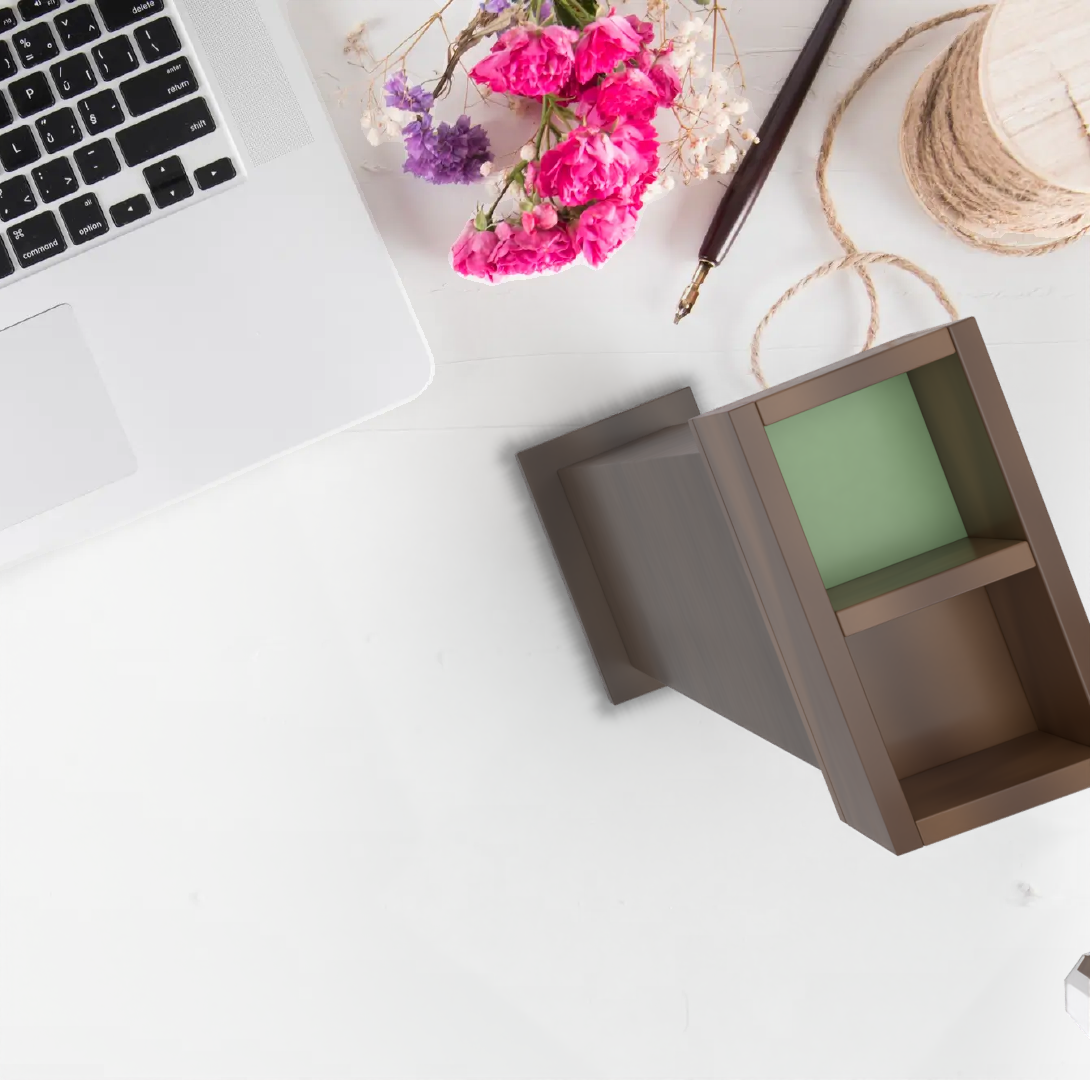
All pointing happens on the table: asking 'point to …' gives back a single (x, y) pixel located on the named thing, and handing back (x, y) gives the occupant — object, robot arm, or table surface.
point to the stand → (659, 568)
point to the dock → (910, 585)
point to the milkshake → (1079, 993)
